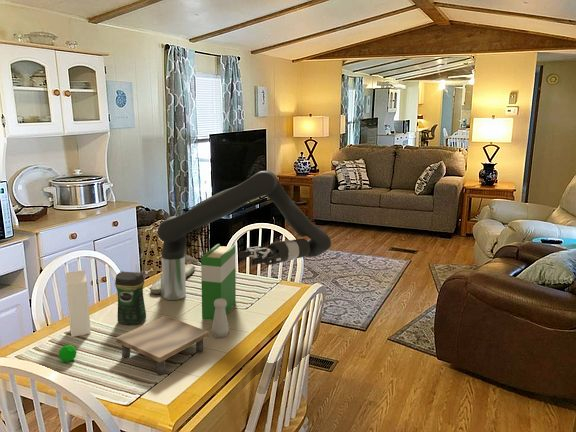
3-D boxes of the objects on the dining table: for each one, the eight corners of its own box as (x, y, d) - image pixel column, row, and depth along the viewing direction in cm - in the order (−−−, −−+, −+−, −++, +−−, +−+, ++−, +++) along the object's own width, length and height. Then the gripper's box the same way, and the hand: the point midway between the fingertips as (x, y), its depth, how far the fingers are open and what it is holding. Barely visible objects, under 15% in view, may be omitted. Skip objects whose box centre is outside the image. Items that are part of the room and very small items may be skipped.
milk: (90, 333, 161) (86, 272, 156) (71, 337, 158) (66, 275, 153) (88, 326, 166) (84, 267, 161) (69, 329, 163) (64, 269, 158)
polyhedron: (68, 354, 147) (67, 340, 146) (80, 358, 145) (79, 344, 144) (55, 362, 142) (54, 348, 141) (67, 366, 141) (66, 351, 140)
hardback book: (218, 300, 191) (217, 243, 186) (235, 302, 190) (235, 245, 184) (202, 318, 174) (201, 257, 169) (221, 321, 173) (220, 258, 167)
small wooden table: (116, 356, 146) (115, 337, 145) (166, 332, 163) (165, 315, 161) (160, 378, 136) (159, 357, 134) (208, 350, 152) (208, 331, 150)
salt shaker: (225, 340, 159) (225, 304, 156) (209, 338, 160) (209, 302, 157) (231, 332, 164) (231, 297, 161) (215, 330, 165) (215, 295, 162)
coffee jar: (149, 317, 174) (147, 269, 170) (140, 326, 167) (137, 277, 162) (124, 315, 175) (121, 268, 171) (114, 324, 168) (111, 275, 164)
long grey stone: (200, 272, 226) (181, 271, 229) (200, 262, 226) (181, 261, 228) (166, 296, 193) (144, 294, 195) (165, 283, 192) (143, 282, 194)
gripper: (272, 236, 176) (235, 243, 167) (295, 246, 165) (256, 253, 155) (272, 255, 178) (235, 263, 168) (295, 266, 166) (256, 274, 157)
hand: (245, 258), depth 162 cm, fingers open, 8 cm apart
